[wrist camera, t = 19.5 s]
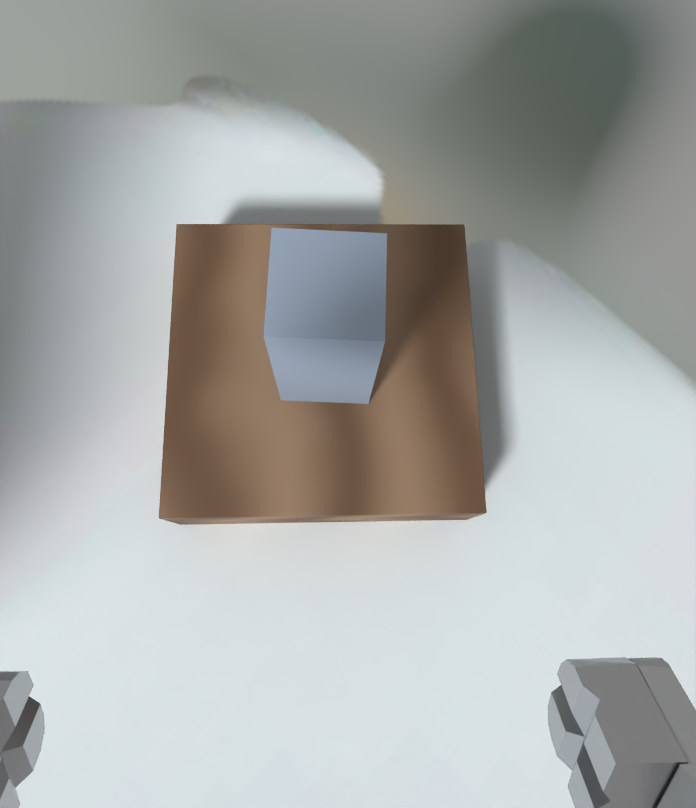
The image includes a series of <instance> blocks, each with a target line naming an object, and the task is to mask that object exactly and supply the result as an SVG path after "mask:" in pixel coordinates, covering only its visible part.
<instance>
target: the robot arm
mask: <svg viewBox="0 0 696 808" xmlns="http://www.w3.org/2000/svg"><path fill="white" fill-rule="evenodd" d="M557 675H558V677H559V680H560V683H561V686H559V687H558V688H557V689H555V690H554V691H553V692H551V696H550V700H549V704H548V725H549V729H550V734H551V739H552V742H553V745H554V748H555V751H556V754H557V756H558V757H559V758H560V759H561V760H562V761H563V762H564V763H565V764H566V765H567V766H568V767H569V768H570V769H571V770H572V773H571V777H570V780H569V783H568V789H569V792H570V795H571V798H572V800H573V803H574V806H575V808H696V710H695V708H694V706H693V705H692V703H691V701H690V700H689V698H688V696H687V695H686V693H685V691H684V690H683V688H682V686H681V684H680V683H679V681H678V679H677V678H676V676H675V674H674V673H673V671H672V669H671V667H670V666H669V664H668V663H667V662H665V661H664V660H663V659H662V658H656V657H652V658H629V659H627V658H625V657H622V658H595V659H568V660H565V661H564V662H562V663H561V665H560V668H559V671H558V674H557ZM33 686H34V685H33V682H32V680H31V678H30V675H29V673H28V671H0V808H19V805H20V802H19V798H18V795H17V791H16V787H17V786H18V785H19V784H20V783H21V782H22V781H23V780H24V779H25V778H26V777H27V776H28V775H29V774H30V773H31V772H32V771H33V770H34V767H35V764H36V761H37V759H38V756H39V753H40V751H41V746H42V740H43V735H44V729H45V727H44V713H43V710H42V707H41V704H40V703H38V702H37V701H35V700H34V699H32V698H31V697H29V695H30V692H31V690H32V688H33Z"/></svg>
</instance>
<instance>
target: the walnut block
mask: <svg viewBox="0 0 696 808" xmlns="http://www.w3.org/2000/svg"><path fill="white" fill-rule="evenodd" d="M272 228H289V229H309V230H329V231H349V232H370V233H387V266H386V318H385V344H384V347H383V351H382V355H381V359H380V362H379V366H378V370H377V374H376V377H375V381H374V385H373V389H372V392H371V396H370V400H369V404H358V403H333V402H309V401H285V400H281V399H280V395H279V392H278V388H277V384H276V381H275V377H274V373H273V370H272V366H271V362H270V358H269V355H268V351H267V347H266V344H265V340H264V323H265V309H266V296H267V282H268V269H269V256H270V242H271V229H272ZM485 513H486V502H485V489H484V476H483V463H482V450H481V437H480V424H479V411H478V398H477V385H476V372H475V358H474V345H473V332H472V319H471V306H470V293H469V280H468V267H467V254H466V241H465V228H464V225H333V224H177V228H176V245H175V261H174V278H173V294H172V311H171V327H170V344H169V360H168V377H167V393H166V410H165V426H164V443H163V459H162V476H161V492H160V508H159V518H160V519H163V520H167V521H170V522H174V523H177V524H238V523H298V522H357V521H417V520H467V519H470V518H473V517H476V516H479V515H482V514H485Z"/></svg>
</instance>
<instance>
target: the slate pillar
mask: <svg viewBox="0 0 696 808" xmlns="http://www.w3.org/2000/svg"><path fill="white" fill-rule="evenodd" d="M386 266H387V233H370V232H349V231H329V230H309V229H289V228H272V229H271V242H270V256H269V269H268V282H267V296H266V309H265V323H264V340H265V344H266V347H267V351H268V355H269V358H270V362H271V366H272V370H273V373H274V377H275V381H276V384H277V388H278V392H279V395H280V399H281V400H285V401H309V402H333V403H358V404H369V400H370V396H371V392H372V389H373V385H374V381H375V377H376V374H377V370H378V366H379V362H380V359H381V355H382V351H383V347H384V344H385V318H386Z"/></svg>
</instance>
